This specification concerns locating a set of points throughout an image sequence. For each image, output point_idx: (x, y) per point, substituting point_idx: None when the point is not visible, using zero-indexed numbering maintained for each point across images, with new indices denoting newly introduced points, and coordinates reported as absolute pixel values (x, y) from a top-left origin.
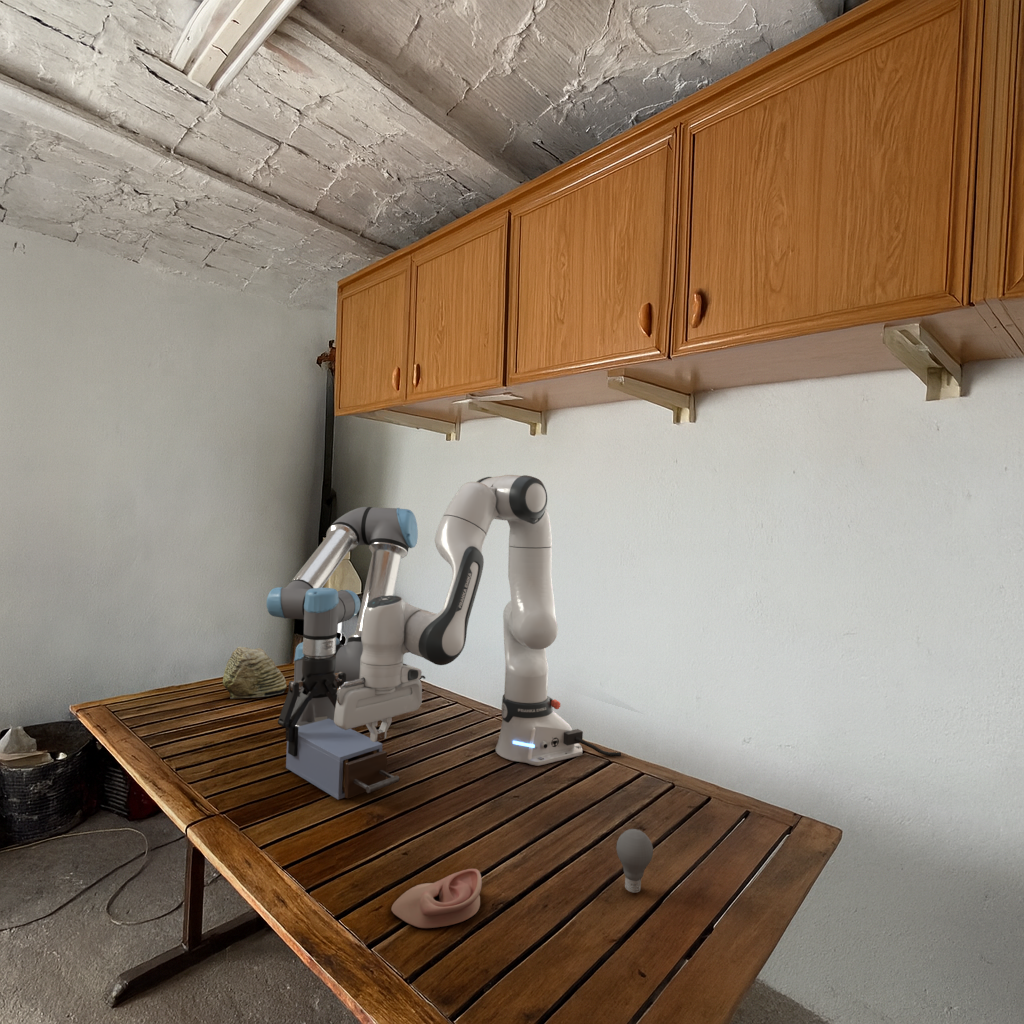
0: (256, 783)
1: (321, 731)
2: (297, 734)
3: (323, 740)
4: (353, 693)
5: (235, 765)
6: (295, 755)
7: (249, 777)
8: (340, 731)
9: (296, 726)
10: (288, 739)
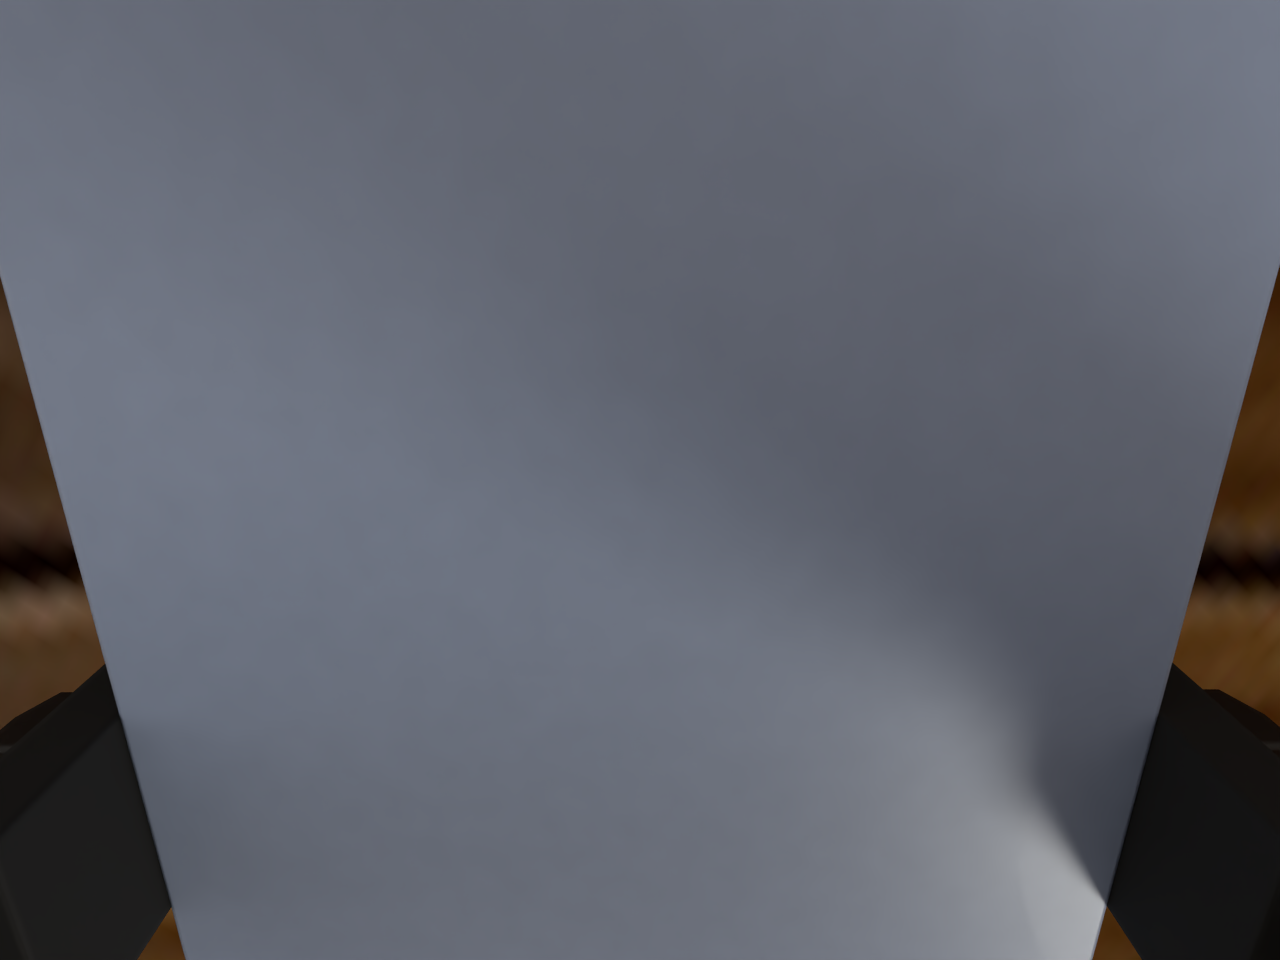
0: (1267, 530)
1: (683, 587)
2: (1183, 726)
3: (1027, 17)
4: None
5: (1116, 927)
6: None
7: (1211, 676)
8: (320, 292)
9: (1275, 911)
10: (1266, 730)
